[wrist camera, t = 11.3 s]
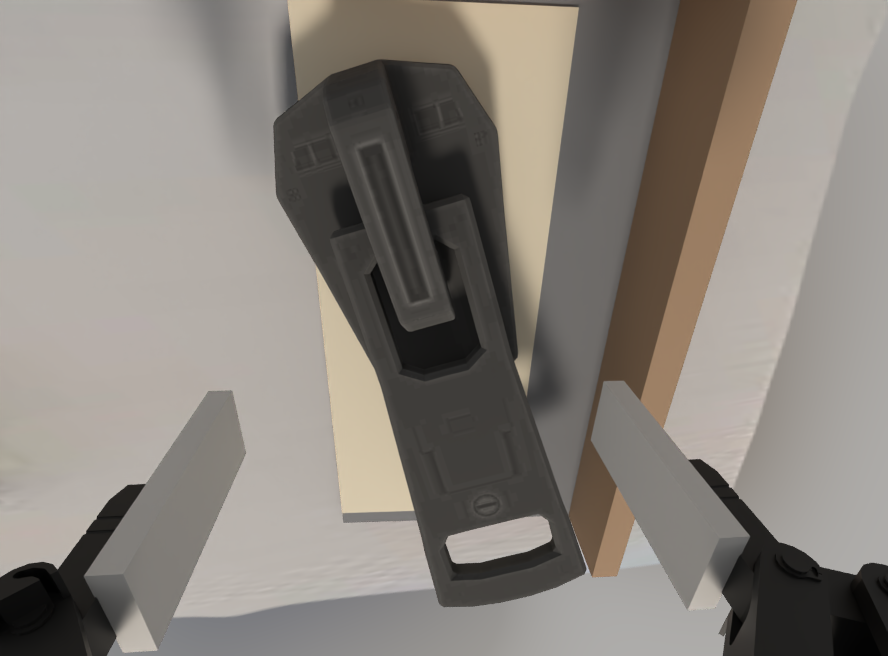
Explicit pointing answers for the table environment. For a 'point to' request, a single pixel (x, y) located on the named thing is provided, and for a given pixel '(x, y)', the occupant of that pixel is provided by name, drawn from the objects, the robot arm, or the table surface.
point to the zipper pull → (429, 304)
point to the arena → (568, 206)
